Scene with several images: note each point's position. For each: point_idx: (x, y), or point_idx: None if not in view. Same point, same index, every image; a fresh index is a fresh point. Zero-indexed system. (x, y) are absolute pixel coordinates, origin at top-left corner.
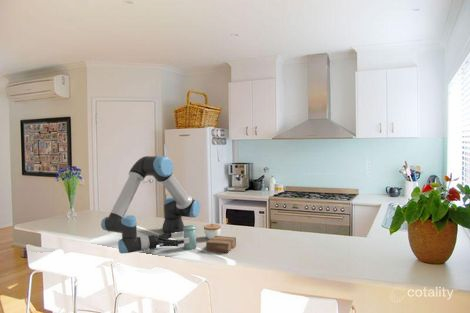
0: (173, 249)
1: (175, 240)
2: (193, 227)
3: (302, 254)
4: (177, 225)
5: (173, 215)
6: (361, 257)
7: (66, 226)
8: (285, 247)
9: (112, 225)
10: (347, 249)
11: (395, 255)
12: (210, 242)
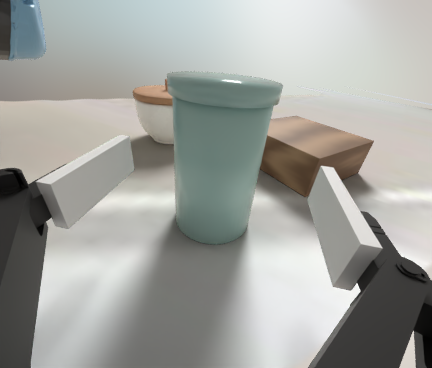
0: (150, 308)
1: (413, 288)
2: (254, 79)
3: (392, 126)
4: None
5: None
6: (413, 114)
7: None
8: (340, 121)
9: None
10: (371, 108)
11: (404, 106)
12: (330, 153)
